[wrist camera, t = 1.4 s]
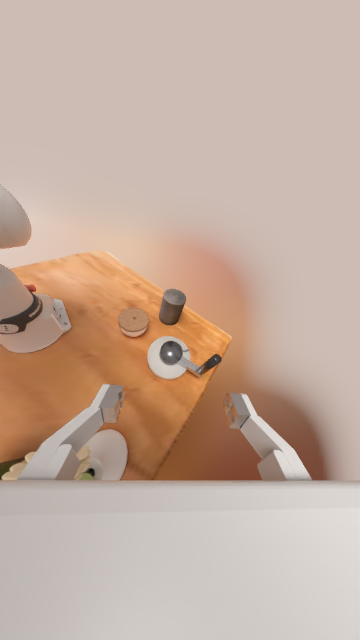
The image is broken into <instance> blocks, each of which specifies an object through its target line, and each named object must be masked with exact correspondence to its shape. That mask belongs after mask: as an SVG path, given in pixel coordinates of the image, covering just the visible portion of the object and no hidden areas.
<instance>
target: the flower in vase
mask: <svg viewBox="0 0 360 640" xmlns="http://www.w3.org/2000/svg"><path fill="white" fill-rule="evenodd" d="M35 453H36V452H30V453H28V454H27V455H26V456H25V460H24V461H22V462H21V463H17V464H14V465H13V466H11V468H10V471H9V472H7V473H5V474H4V475H3V476H2V477H1V478H2V480H17V478H18V477H19V475H20V474H21V473H22V471H23V470H24V468H25V467H26V465H27V464H28V463H29V461H30V460H31V458H32V457H33V456H34V454H35ZM76 455H77V457H78V458H79V460H80V466H79V468H78V471H77V473H76V475H75V477H74V480H120V479H121V477H122V475H123V472H124V470H125V467H126V463H127V455H128V450H127V444H126V441H125V439H124V437H123V435H122V434H121V433H119V432H118V431H116V430H113V429H106V430H102V431H99V432H97V433H95V434H94V435H93V436H92V437H91V438H90V439H89V440H88V442H87V443H86V444H85V445H84V446H83V447H82V448H81V449H80V450H79V451H78V452H77V454H76Z"/></svg>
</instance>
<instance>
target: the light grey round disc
mask: <svg viewBox="0 0 360 640" xmlns="http://www.w3.org/2000/svg"><path fill="white" fill-rule="evenodd" d="M167 341H175V342H177V343H178V344H180V346H181V347H182V350H183V355H182V356H183V357H185V358H186V359H188V360H189V361H190V353H189V349H188V348H187V346H186V345H185V344H184V343H183V342H182V341H181V340H179V339H178V338H175V337H171V336H164V337H161V338H158V339H157V340H155V341H154V342H153V343H152V344H151V346H150V348H149V350H148V355H147V363H148V366H149V369H150V370H151V372H152V373H153V374H154V375H155V376H157V377H158V378H160V379H163V380H173V379H176V378H178V377H180V376H181V375H182V374H183V373H184V372H185V371H186V370H187V369H186V368H184V367H183V366H181V365H180V364H178V363H177V364H175V365H166V364H165V363H163V362H162V361H161V359H160V356H159V352H160V349H161V346H162V345H163V344H164V343H165V342H167Z"/></svg>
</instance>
